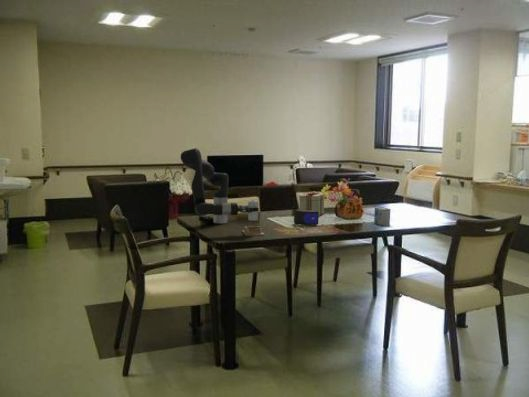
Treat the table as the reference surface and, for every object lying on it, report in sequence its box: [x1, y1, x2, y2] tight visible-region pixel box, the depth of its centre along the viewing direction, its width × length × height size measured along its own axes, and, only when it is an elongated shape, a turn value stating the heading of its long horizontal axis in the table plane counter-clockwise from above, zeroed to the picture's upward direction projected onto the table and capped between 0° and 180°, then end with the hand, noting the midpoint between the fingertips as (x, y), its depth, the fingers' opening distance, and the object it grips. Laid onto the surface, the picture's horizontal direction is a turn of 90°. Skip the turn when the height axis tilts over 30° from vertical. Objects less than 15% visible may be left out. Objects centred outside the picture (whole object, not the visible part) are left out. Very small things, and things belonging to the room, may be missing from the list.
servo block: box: [247, 199, 259, 221], centre depth 317 cm, size 5×5×12 cm
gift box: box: [298, 190, 326, 217], centre depth 392 cm, size 17×18×17 cm
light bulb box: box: [373, 206, 391, 226], centre depth 358 cm, size 11×7×11 cm, turn 14°
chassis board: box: [241, 225, 265, 237], centre depth 318 cm, size 13×11×4 cm
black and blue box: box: [293, 209, 320, 226], centre depth 350 cm, size 16×5×9 cm, turn 81°
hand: (257, 208), depth 317 cm, fingers closed on servo block, 5 cm apart
